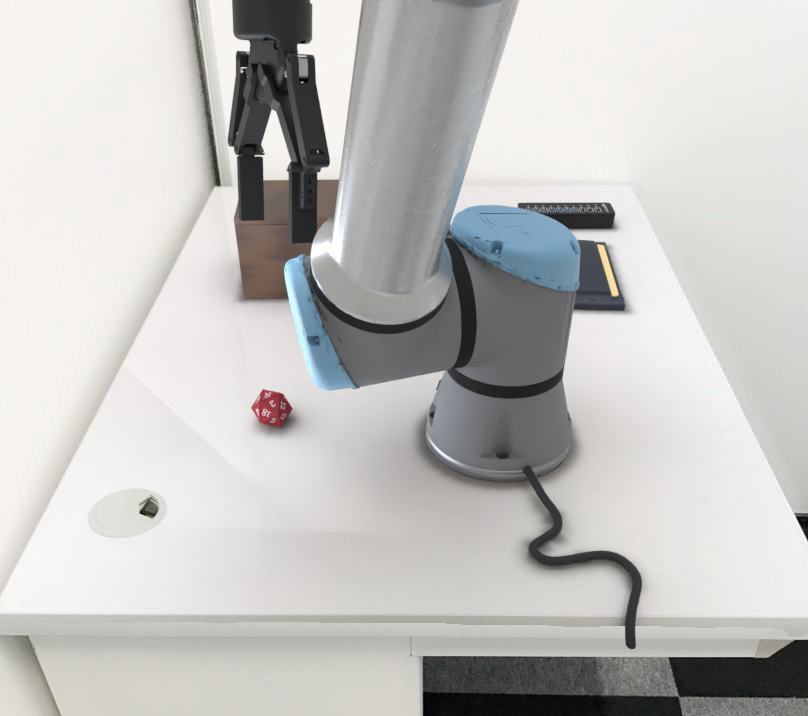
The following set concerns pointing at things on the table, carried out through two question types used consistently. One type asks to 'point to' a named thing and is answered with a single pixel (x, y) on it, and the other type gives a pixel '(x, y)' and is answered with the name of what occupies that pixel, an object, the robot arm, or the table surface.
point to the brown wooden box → (275, 239)
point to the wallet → (597, 279)
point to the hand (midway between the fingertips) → (275, 231)
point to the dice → (271, 408)
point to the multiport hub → (575, 213)
